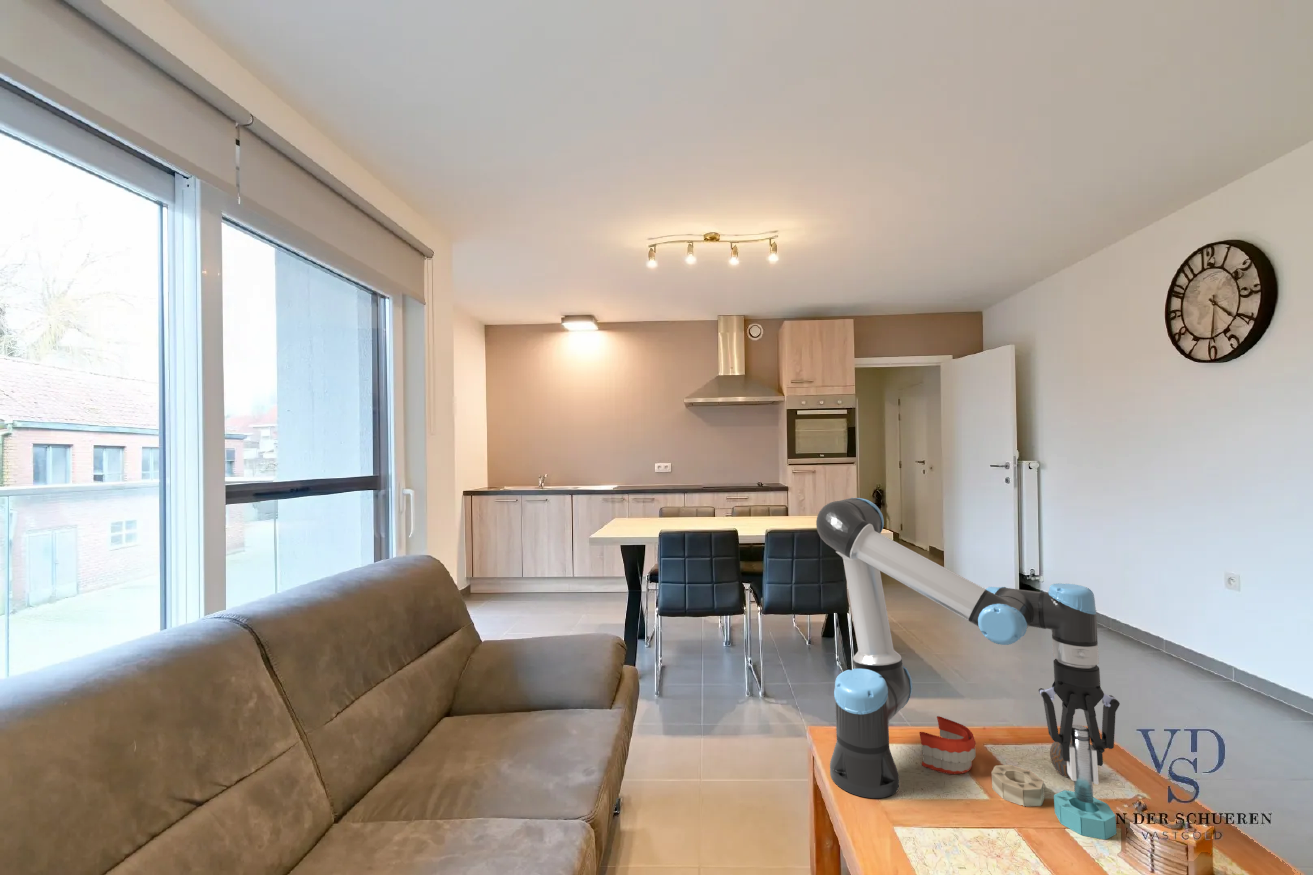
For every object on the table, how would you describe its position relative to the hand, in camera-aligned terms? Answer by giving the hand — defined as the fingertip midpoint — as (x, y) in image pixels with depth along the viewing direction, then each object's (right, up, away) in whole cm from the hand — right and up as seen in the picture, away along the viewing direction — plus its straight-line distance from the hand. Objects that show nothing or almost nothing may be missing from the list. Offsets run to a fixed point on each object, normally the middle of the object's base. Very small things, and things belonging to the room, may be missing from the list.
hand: (1082, 778), depth 111 cm
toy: (-15, -10, +21) cm, 28 cm away
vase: (+10, -9, +16) cm, 21 cm away
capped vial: (0, -4, 0) cm, 4 cm away
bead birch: (-7, -9, +10) cm, 15 cm away
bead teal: (0, -9, 0) cm, 9 cm away
